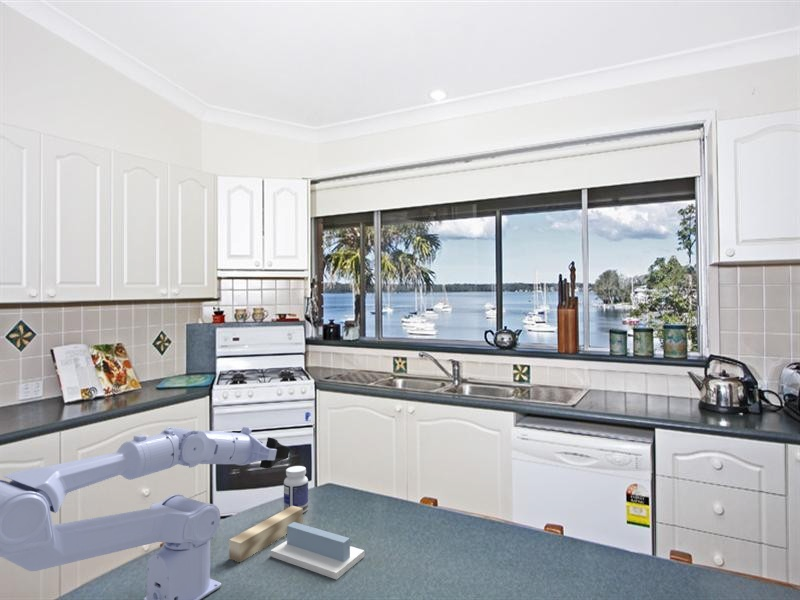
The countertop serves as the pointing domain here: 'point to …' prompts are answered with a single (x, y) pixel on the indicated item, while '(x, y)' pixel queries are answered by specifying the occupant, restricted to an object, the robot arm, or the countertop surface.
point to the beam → (263, 533)
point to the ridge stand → (317, 550)
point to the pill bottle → (296, 488)
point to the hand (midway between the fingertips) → (273, 449)
